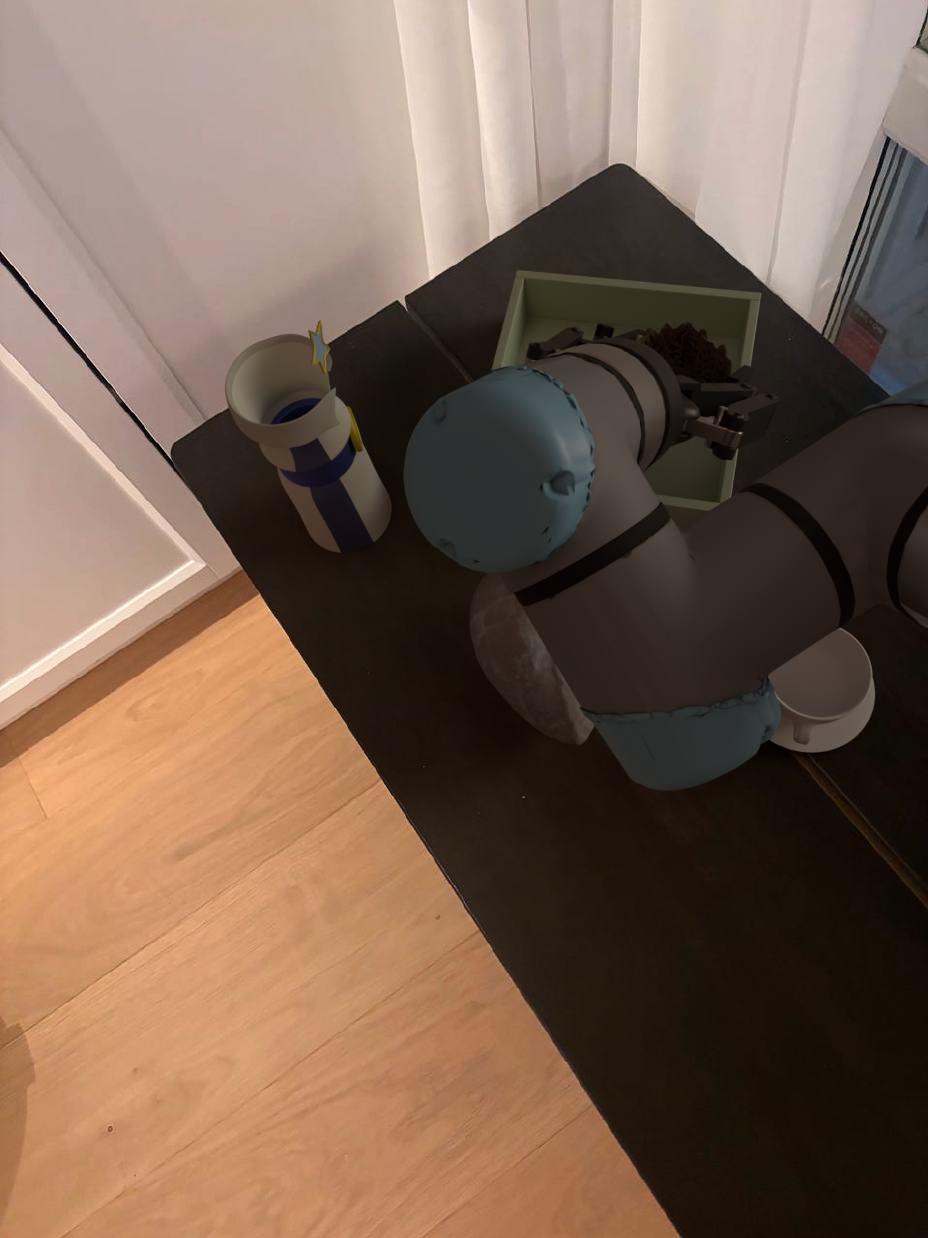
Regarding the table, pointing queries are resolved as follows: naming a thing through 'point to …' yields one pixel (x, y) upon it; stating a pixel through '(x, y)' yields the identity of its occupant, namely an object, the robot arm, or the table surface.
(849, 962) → the table surface
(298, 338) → the white blue vase
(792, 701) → the teacup
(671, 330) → the dark brown hollow vessel
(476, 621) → the decorative stone
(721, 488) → the bin
